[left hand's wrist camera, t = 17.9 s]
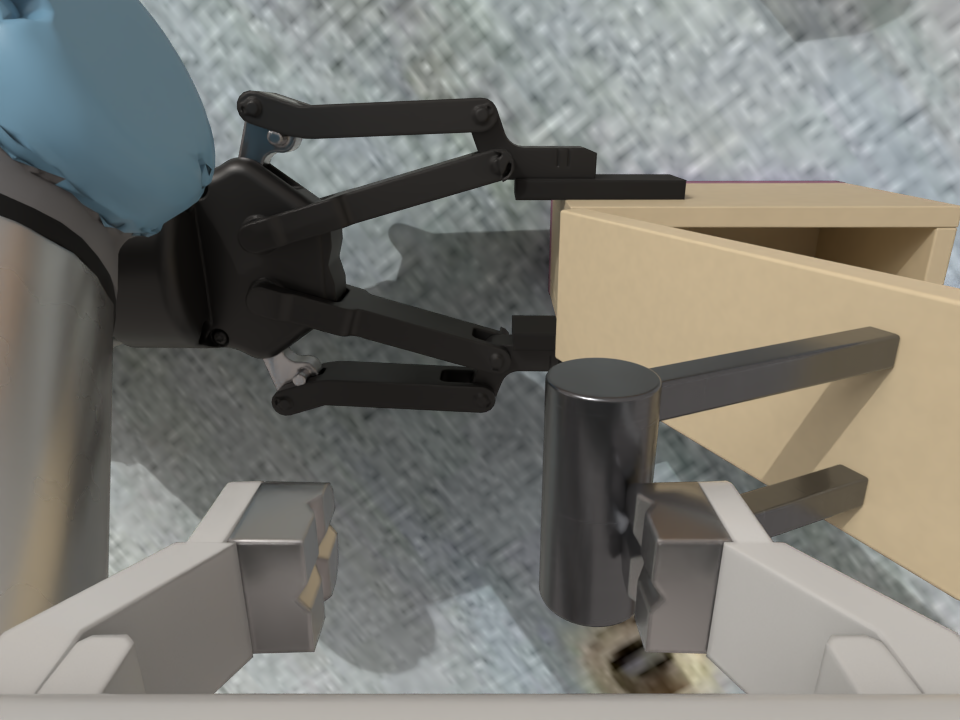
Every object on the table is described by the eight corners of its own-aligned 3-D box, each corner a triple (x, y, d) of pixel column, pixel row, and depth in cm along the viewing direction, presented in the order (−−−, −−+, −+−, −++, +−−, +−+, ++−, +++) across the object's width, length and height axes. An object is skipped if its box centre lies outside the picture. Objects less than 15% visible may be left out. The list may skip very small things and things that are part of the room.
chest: (836, 180, 32) (963, 205, 23) (816, 291, 34) (928, 353, 25) (551, 181, 33) (570, 206, 24) (548, 290, 35) (564, 351, 26)
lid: (1083, 314, 11) (669, 404, 8) (993, 588, 13) (632, 758, 9) (584, 208, 23) (348, 224, 20) (577, 353, 25) (360, 391, 22)
